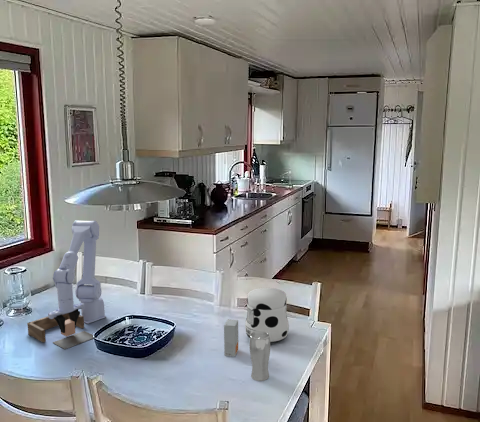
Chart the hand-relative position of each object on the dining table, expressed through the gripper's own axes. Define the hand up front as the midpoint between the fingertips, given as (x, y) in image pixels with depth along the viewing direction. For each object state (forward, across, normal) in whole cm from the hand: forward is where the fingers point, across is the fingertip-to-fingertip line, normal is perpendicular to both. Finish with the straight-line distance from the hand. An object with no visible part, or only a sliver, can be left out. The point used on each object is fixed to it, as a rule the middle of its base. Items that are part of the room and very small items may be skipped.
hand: (68, 330), depth 197 cm
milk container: (+3, -50, +63) cm, 80 cm away
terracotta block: (+2, 0, 0) cm, 2 cm away
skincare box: (+3, -31, +61) cm, 68 cm away
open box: (+3, 0, -3) cm, 4 cm away
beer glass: (+3, -24, +80) cm, 83 cm away
